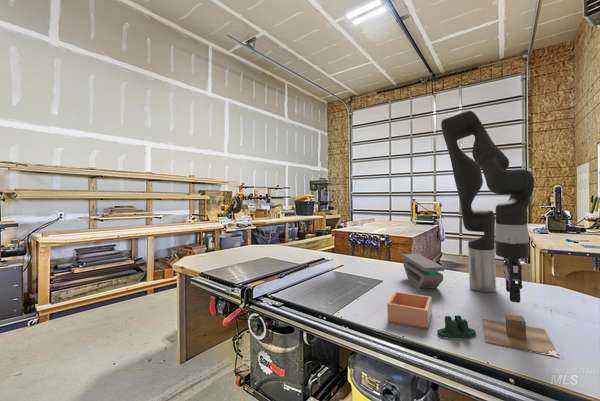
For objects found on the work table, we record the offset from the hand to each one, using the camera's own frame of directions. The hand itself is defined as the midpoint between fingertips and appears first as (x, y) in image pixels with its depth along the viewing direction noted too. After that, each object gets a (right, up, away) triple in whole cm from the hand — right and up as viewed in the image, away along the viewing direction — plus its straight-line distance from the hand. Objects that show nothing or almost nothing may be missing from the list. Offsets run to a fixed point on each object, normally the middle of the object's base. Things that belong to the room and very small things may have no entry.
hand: (512, 296), depth 76 cm
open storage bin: (-23, -12, +14) cm, 30 cm away
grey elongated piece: (-5, -11, +46) cm, 48 cm away
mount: (-15, -12, +3) cm, 19 cm away
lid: (+1, -12, 0) cm, 12 cm away
